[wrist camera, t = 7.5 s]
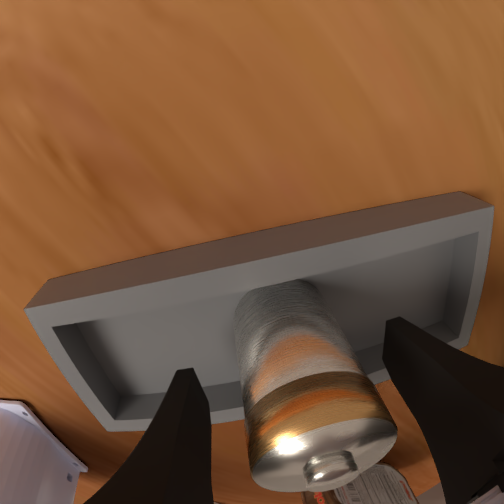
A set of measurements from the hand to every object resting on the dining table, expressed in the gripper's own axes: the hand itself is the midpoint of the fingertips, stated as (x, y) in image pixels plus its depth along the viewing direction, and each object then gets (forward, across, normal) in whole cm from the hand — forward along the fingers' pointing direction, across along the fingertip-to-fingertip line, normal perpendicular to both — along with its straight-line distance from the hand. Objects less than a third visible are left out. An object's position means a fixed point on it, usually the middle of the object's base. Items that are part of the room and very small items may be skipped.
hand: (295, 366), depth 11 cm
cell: (+3, 0, 0) cm, 3 cm away
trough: (+3, 0, 0) cm, 3 cm away
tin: (+4, -5, +20) cm, 21 cm away
